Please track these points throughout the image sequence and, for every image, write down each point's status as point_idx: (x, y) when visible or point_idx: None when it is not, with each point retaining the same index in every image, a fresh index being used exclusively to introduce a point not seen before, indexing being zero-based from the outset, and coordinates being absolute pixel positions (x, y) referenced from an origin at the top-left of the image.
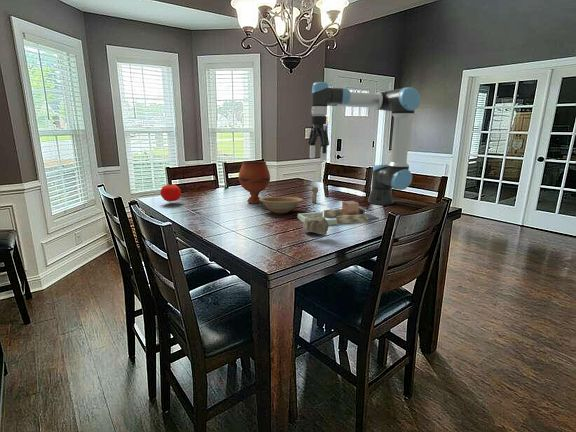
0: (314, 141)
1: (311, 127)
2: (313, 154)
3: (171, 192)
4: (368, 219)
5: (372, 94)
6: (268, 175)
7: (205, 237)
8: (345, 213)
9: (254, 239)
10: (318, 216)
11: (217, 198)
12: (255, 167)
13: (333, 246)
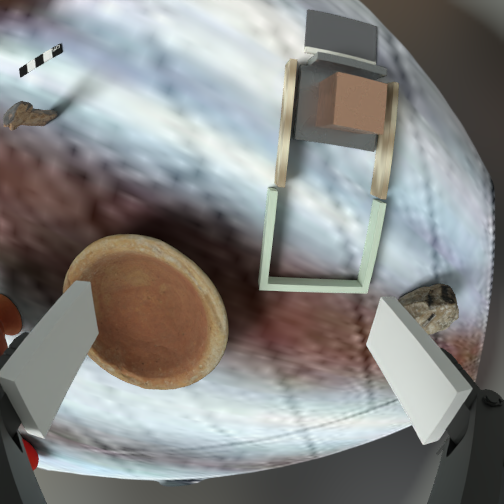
0: (16, 462)
1: None
2: (77, 323)
3: (34, 463)
4: (374, 63)
5: None
6: None
7: (315, 457)
8: (349, 131)
9: (371, 407)
10: (434, 311)
11: None
12: None
13: (477, 297)
